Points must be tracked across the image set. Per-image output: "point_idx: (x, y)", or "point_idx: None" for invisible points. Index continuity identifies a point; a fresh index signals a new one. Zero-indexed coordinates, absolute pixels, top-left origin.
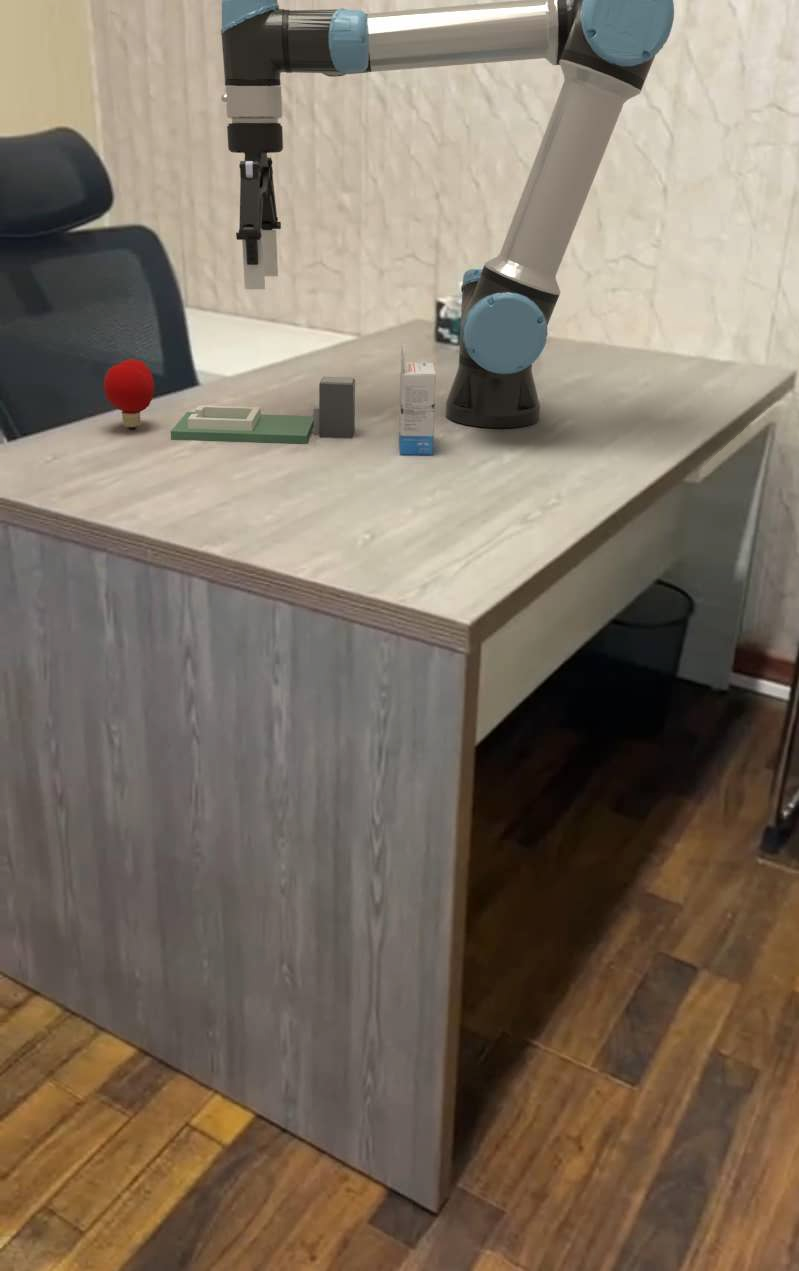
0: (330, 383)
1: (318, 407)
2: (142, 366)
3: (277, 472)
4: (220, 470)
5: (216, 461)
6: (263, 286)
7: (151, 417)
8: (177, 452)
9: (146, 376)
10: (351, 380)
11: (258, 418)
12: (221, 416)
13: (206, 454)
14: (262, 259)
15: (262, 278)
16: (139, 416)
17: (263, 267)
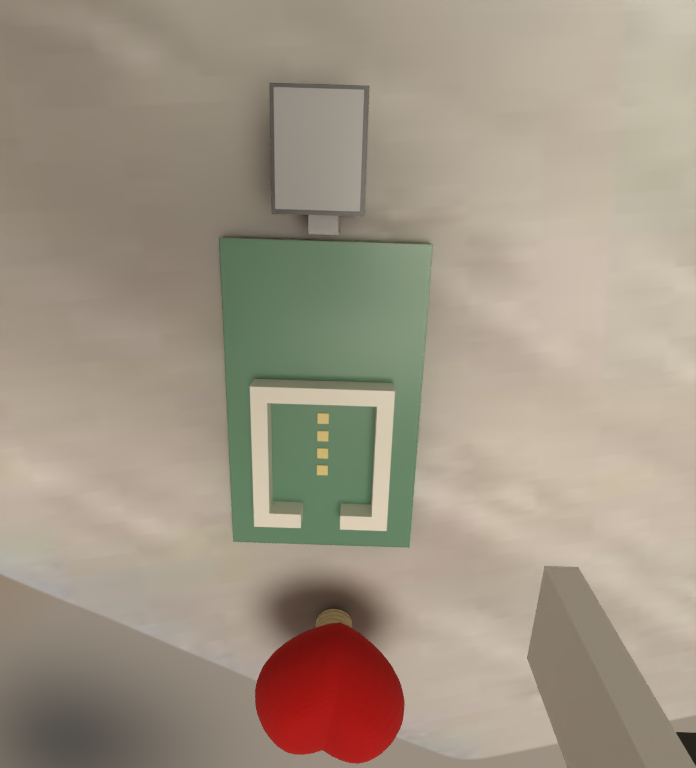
0: (361, 175)
1: (322, 220)
2: (317, 706)
3: (675, 291)
4: (648, 412)
5: (578, 428)
6: (583, 582)
7: (232, 598)
8: (507, 510)
9: (335, 678)
10: (326, 93)
11: (287, 381)
12: (271, 466)
13: (523, 455)
14: (678, 740)
15: (607, 622)
16: (337, 621)
17: (627, 677)
